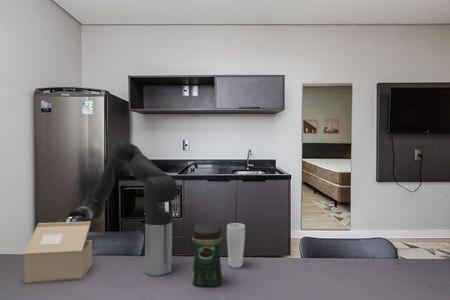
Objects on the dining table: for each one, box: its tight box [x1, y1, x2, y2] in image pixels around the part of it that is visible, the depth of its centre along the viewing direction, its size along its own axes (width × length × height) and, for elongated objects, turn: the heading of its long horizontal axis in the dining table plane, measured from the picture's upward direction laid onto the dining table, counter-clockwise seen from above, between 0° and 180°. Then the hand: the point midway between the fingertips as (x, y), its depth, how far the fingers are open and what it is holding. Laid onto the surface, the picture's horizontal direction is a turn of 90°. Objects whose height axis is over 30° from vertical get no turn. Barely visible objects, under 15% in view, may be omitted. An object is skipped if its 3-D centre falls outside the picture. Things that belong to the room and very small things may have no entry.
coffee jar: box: [191, 224, 223, 287], centre depth 93 cm, size 10×8×19 cm
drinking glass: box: [226, 222, 246, 269], centre depth 106 cm, size 7×7×15 cm
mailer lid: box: [23, 221, 92, 256], centre depth 96 cm, size 17×12×1 cm
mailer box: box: [23, 239, 93, 284], centre depth 98 cm, size 17×12×9 cm
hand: (64, 228), depth 101 cm, fingers closed
